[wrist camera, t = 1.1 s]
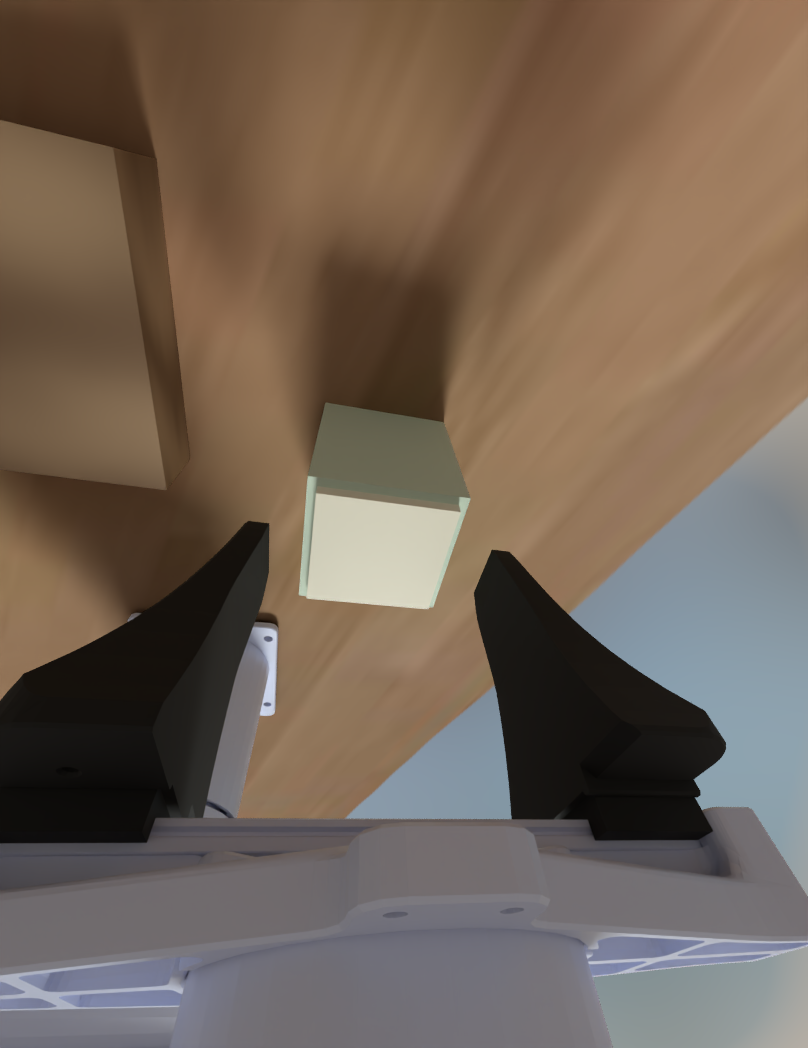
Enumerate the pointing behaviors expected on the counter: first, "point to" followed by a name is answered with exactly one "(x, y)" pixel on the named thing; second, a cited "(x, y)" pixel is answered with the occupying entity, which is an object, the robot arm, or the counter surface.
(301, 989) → the robot arm
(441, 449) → the tea tin
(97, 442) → the walnut block
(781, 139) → the counter surface
